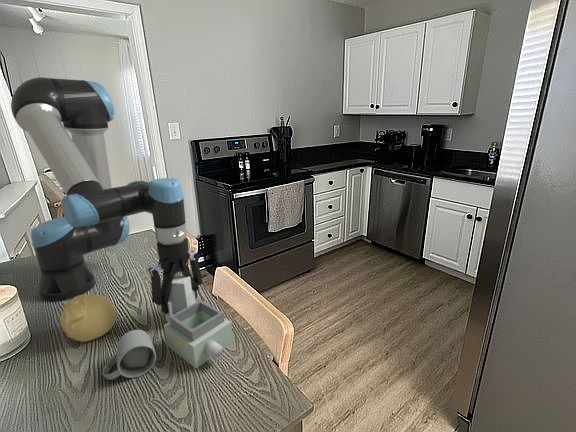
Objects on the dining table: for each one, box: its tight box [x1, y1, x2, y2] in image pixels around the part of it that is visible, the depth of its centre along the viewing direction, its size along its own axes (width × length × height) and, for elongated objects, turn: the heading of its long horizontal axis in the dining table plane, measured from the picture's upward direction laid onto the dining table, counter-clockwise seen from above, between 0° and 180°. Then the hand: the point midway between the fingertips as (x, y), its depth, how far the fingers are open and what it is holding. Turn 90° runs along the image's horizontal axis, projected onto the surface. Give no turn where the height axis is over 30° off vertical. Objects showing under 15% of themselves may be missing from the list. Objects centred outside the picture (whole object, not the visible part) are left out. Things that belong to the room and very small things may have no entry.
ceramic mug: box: [102, 329, 157, 381], centre depth 69 cm, size 11×8×8 cm
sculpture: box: [59, 293, 117, 343], centre depth 79 cm, size 12×12×11 cm
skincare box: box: [169, 275, 194, 315], centre depth 84 cm, size 6×4×12 cm
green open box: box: [163, 299, 234, 369], centre depth 75 cm, size 15×11×8 cm
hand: (181, 315), depth 86 cm, fingers closed on skincare box, 6 cm apart
